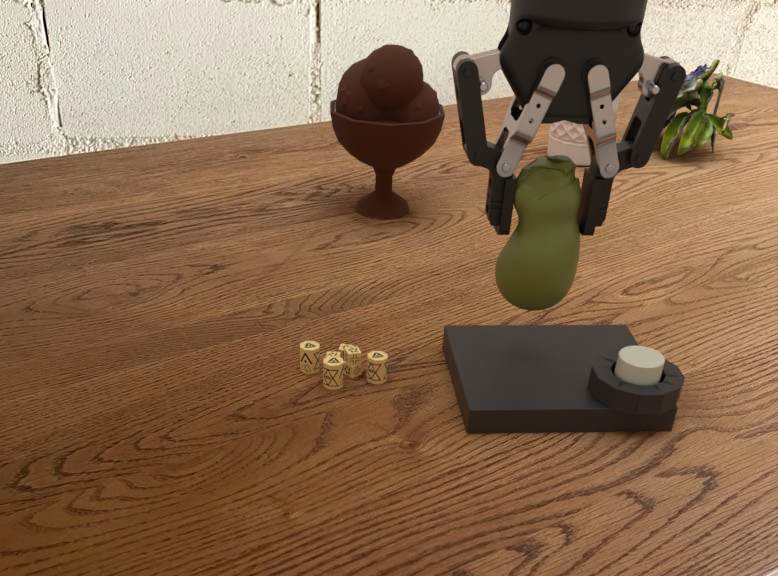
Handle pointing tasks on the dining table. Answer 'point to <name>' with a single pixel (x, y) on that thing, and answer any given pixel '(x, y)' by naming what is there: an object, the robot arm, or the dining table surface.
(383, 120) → the ice cream bowl
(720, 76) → the passion flower
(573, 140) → the white cup
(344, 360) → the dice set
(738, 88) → the dining table surface
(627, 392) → the scale
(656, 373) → the button
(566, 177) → the pear
